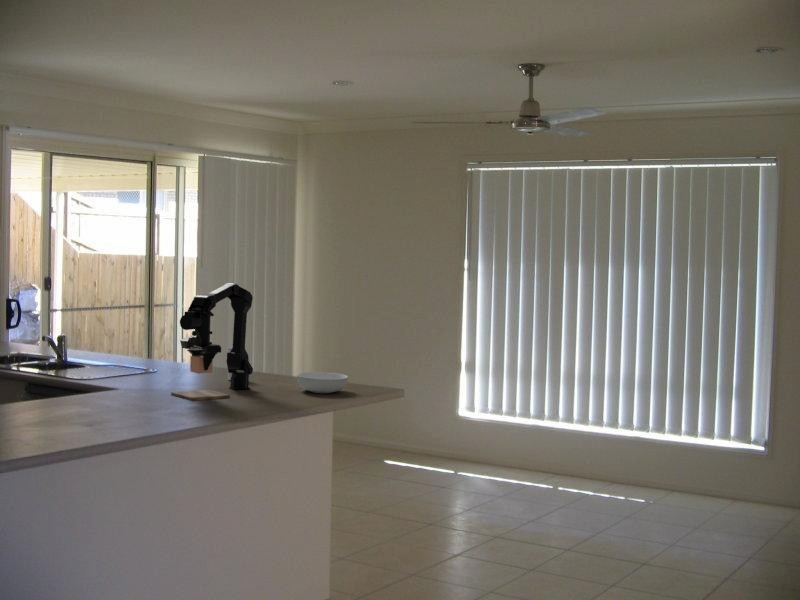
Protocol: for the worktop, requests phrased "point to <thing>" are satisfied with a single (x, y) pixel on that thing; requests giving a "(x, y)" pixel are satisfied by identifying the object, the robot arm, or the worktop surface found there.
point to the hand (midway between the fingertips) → (201, 369)
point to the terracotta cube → (199, 365)
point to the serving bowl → (322, 381)
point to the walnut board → (200, 395)
